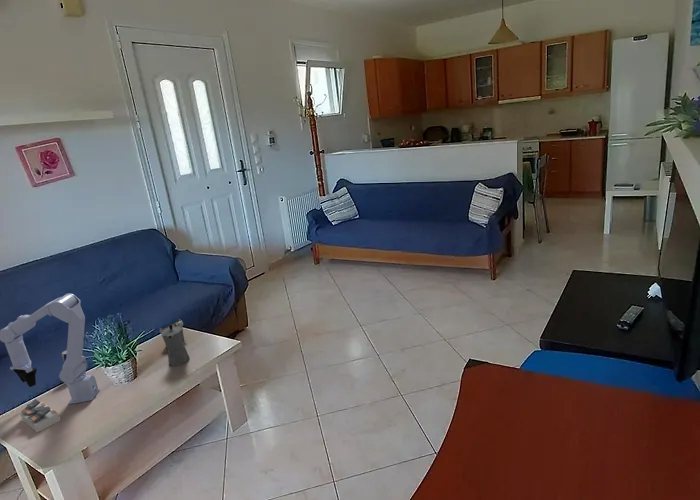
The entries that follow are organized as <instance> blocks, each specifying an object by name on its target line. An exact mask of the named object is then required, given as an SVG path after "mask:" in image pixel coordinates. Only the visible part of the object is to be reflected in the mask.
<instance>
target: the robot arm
mask: <svg viewBox="0 0 700 500" xmlns="http://www.w3.org/2000/svg"><path fill="white" fill-rule="evenodd" d="M81 301H82V300H81V299H80V298H78V297H77V295H75V294H73V293H65V294H64V295H63V296H60V297H57V298H55V299H53V300H52V301H50V302H47V303H46V304H45V305H43V306H42V307H40V308H39V309H37V310H36V311H34V312H32V313H31V314H23V315H22V314H21V315H20V316H18V317H16V320H15V321H11V322H9V323H8V324H7V326H6V327H4V328H1V329H0V342H1V343H4V345H5V348H6V351H7V354H8V356H9V358H10V361H11V364H12V366H10V367H9V369H10V370H11V371H13V372H15V374H16V375H17V377H18V378H19V379H20V381H21V382H22V383H26V384H27V386H28V387H29V388H32V387H34V386H36V385H37V382H36V375H37V367H32V360H31V359H30V356H29V353H28V350H27V348H26V345H25V342H24V335H23V334H26V332H28V331H30V330H31V329H33V328H35V326H36V324H37V322H38V321H39V320H41V319H42V318H44V317H45V316H49V317H52V316H53V317H55V318H57V319H59V320H60V321H62V322H64V323H68V330H67V344H66V350H67V356H66V360H65V362H64V361H63V365H62V367H61V368H62V369H61V370H60V372H59V373H58V374H59V375H58V376H59V380H60V381H62V382H63V383H65V384H66V386H67V389H68V392H69V395H70V400H69V401H68V403H67V405H73V404H79V403H84V402H90V401H93V400H94V398H95V397H96V395H97V394H98V392H99V391H100V388H99V387H98V384H97V380H96V378H95V376H94V375H89V374H87V369H88V364H87V361H86V356H84V355H83V351H84V339H85V338H84V337H85V325H86V324H85V323H86V315H85V314H84V311H83V309H82V306H81V303H82V302H81Z"/></svg>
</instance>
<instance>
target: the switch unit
mask: <svg viewBox="0 0 700 500" xmlns="http://www.w3.org/2000/svg"><path fill="white" fill-rule="evenodd" d="M39 402H40V404H38V405H37V406H36V407H35V408H37V407H40V406H44V407H47V408H49V409H50V410H51V411H50V412H49V413H47V414H46V415H45V417H44V418H41V419H40V420H38V421H37V422H36V423H34V422H33V421H32V420H31V419H30V418H32V417H33V416H34V415H36V414H34V415H31V416H27V415H25V414H23V413H22V412H21V411H20V412H19V415H20V417H21V418H20V419H21V420H22V421H23V422H24V423H26V424H27V425H28V426H29V427H31V428H32V430H33V431H34V432H36V433H39V432H41V431H43V430H45V429H47V428H48V427H50V426H53V425H54V424H56V423H58V422H59V421H61V417H60V413H59V412H57V411H56V410H55V409H54V408H52V407H51V406H49V405H48V404H46V403H45V402H44V401H39Z"/></svg>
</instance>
